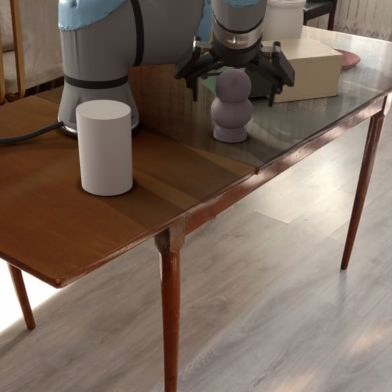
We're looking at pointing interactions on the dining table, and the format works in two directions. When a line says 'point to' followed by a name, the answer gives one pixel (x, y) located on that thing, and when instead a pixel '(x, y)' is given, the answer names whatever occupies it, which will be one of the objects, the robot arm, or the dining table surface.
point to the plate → (348, 60)
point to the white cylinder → (105, 146)
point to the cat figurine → (232, 105)
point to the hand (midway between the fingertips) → (233, 97)
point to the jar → (283, 19)
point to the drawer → (257, 82)
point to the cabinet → (309, 69)
